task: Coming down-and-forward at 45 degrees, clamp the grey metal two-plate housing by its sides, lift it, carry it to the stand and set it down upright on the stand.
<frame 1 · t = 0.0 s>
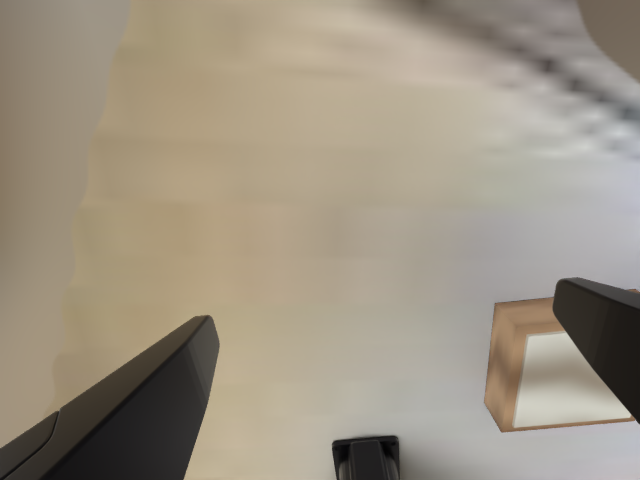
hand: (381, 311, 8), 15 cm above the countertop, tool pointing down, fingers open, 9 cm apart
stand: (553, 350, 27), on the countertop
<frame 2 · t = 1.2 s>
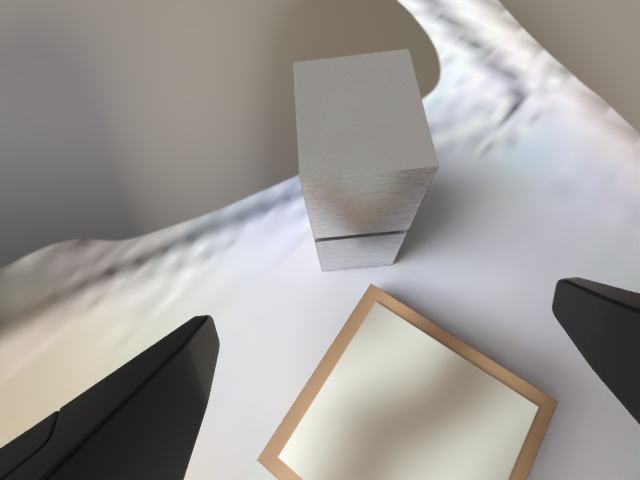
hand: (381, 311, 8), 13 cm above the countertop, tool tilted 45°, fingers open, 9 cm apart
housing: (352, 229, 24), on the countertop
stand: (398, 421, 19), on the countertop
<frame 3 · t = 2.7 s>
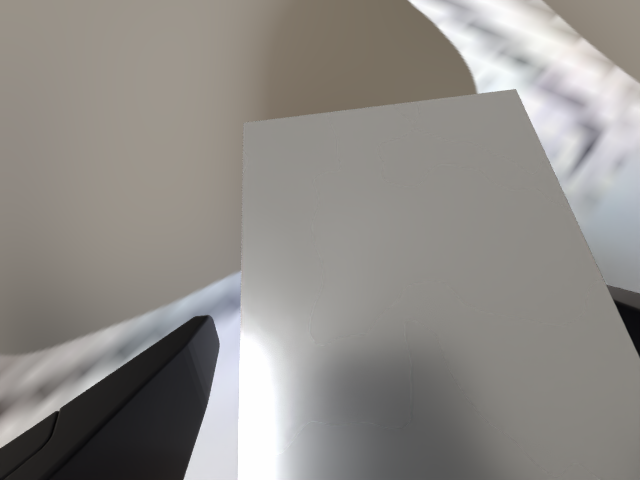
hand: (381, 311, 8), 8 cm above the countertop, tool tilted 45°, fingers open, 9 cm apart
housing: (364, 341, 16), on the countertop
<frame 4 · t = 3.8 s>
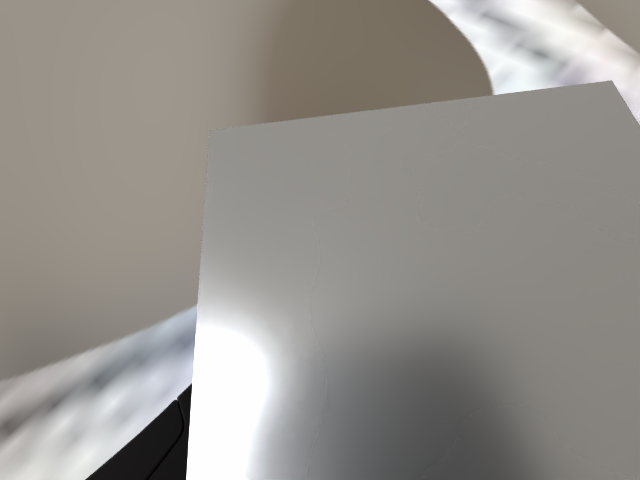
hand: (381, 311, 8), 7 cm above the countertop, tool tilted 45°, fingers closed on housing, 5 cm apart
housing: (370, 370, 14), on the countertop, touching gripper
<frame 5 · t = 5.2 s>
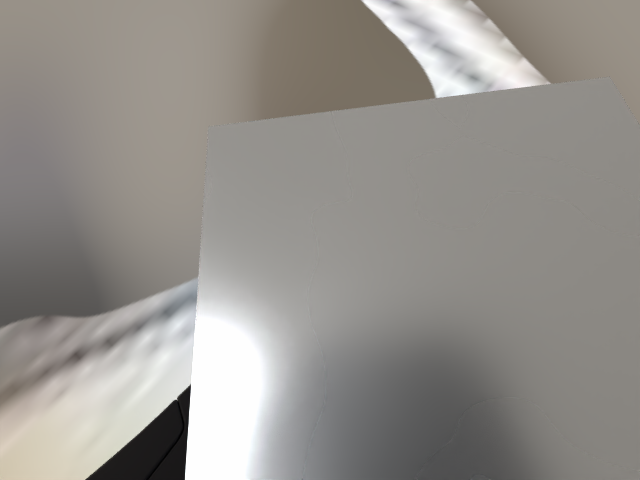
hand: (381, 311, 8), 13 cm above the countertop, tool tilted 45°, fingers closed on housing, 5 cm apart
housing: (370, 368, 14), point 6 cm above the countertop, touching gripper
when the fingers open (10 cm above the countertop, at t = 6.6 s): housing stays where it is, resting on stand.
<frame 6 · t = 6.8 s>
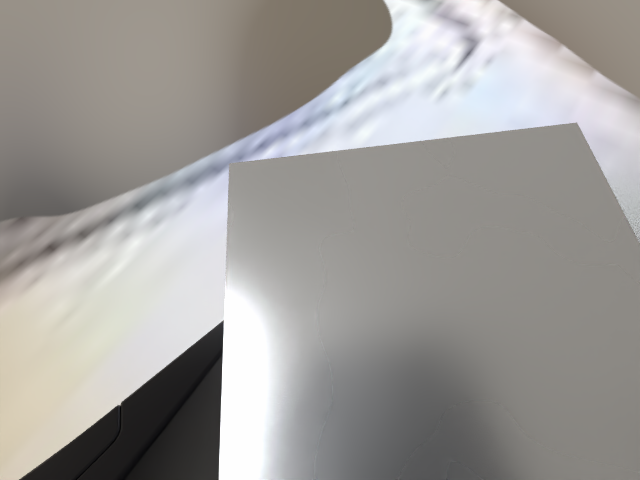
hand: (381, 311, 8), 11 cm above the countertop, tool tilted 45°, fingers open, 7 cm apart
housing: (370, 370, 14), point 3 cm above the countertop, touching stand
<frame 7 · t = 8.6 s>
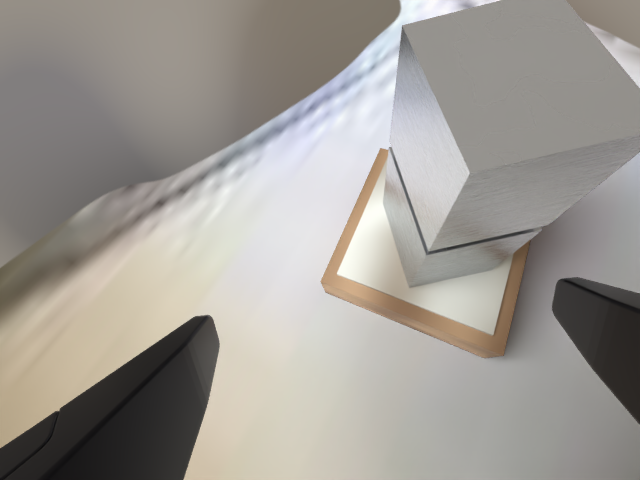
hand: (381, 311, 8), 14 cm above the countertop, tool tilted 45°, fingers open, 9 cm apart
housing: (433, 234, 20), point 3 cm above the countertop, touching stand
stand: (424, 252, 23), on the countertop
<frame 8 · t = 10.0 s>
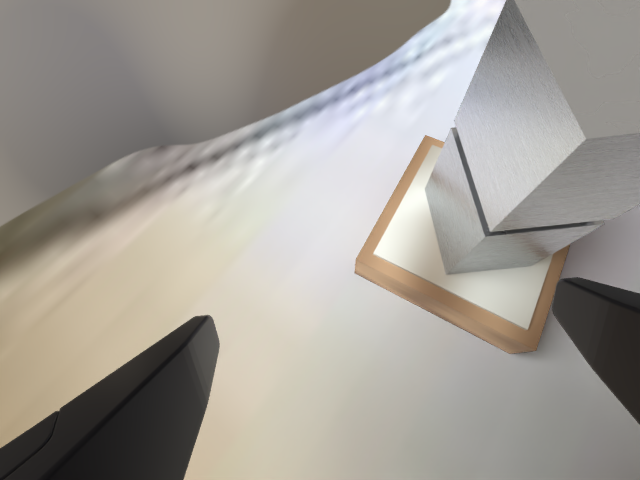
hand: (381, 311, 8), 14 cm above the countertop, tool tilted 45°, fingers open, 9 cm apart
housing: (474, 225, 20), point 3 cm above the countertop, touching stand
stand: (457, 244, 23), on the countertop
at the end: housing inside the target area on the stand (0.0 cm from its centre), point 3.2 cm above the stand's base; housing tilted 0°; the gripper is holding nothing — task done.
